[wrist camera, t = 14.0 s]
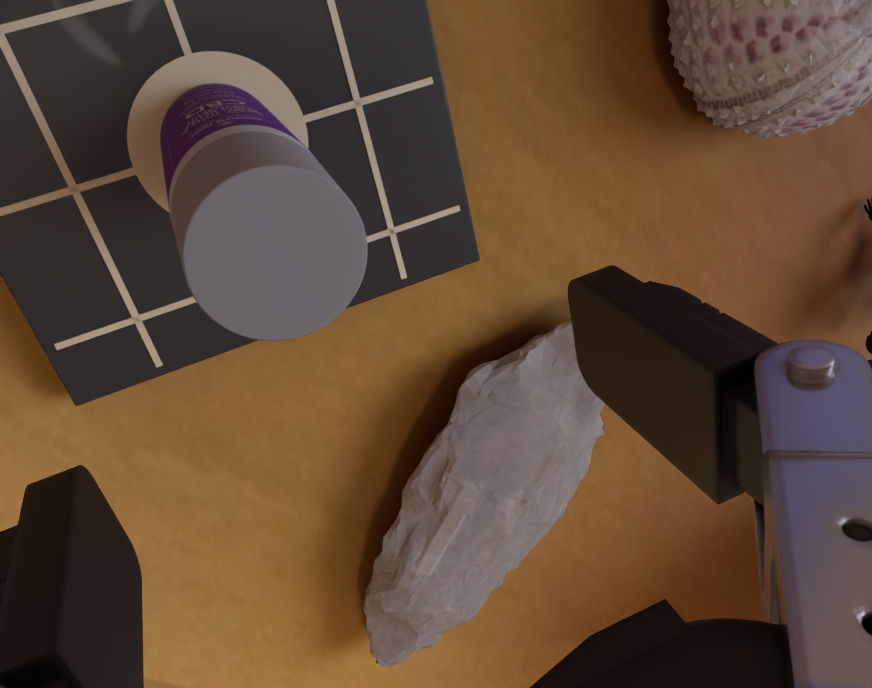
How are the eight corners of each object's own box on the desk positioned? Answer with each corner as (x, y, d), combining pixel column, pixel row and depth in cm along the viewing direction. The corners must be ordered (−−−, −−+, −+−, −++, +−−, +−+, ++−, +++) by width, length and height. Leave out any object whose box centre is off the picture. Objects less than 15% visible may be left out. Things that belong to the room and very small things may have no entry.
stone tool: (699, 375, 41) (462, 710, 46) (645, 338, 45) (433, 648, 50) (555, 291, 35) (300, 684, 40) (508, 258, 40) (283, 617, 44)
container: (220, 56, 29) (284, 115, 17) (300, 147, 32) (409, 259, 19) (133, 136, 29) (130, 255, 17) (219, 220, 32) (273, 380, 19)
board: (77, 391, 34) (75, 407, 33) (-161, -33, 25) (-177, -34, 24) (469, 251, 38) (480, 260, 37) (381, -160, 29) (393, -166, 28)
